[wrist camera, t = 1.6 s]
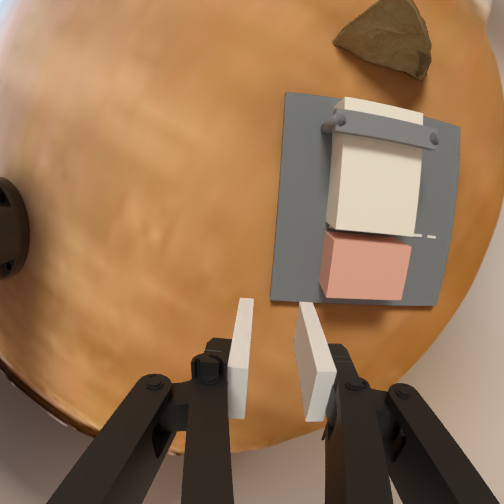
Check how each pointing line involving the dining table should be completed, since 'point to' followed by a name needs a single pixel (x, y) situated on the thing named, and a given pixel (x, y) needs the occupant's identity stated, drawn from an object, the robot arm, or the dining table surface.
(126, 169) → the dining table surface
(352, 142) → the clamped cream block
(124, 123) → the dining table surface
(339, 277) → the stub
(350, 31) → the rock
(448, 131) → the mat
